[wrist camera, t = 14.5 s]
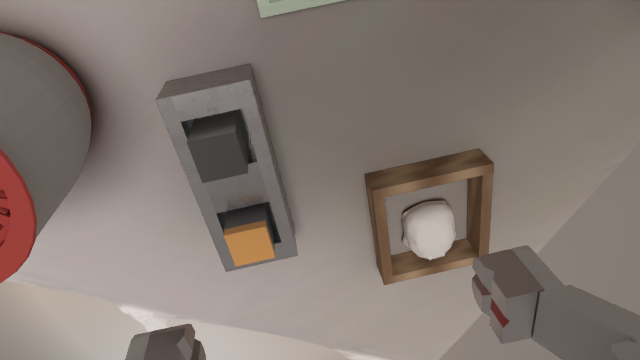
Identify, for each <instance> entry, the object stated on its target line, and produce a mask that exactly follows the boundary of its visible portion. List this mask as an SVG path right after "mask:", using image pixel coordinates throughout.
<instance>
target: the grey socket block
mask: <svg viewBox="0 0 640 360" xmlns="http://www.w3.org/2000/svg"><path fill="white" fill-rule="evenodd" d="M156 103H157V105H158V108H159V110H160V113H161V115H162V117H163V120H164V122H165V125H166V127H167V130H168V132H169V135H170V137H171V139H172V142H173V144H174V147H175V149H176V152H177V154H178V156H179V159H180V161H181V164H182V166H183V169H184V171H185V173H186V176H187V178H188V181H189V183H190V186H191V188H192V190H193V193H194V195H195V198H196V200H197V203H198V205H199V208H200V210H201V212H202V215H203V217H204V220H205V222H206V225H207V227H208V229H209V232H210V234H211V237H212V239H213V242H214V244H215V246H216V249H217V251H218V254H219V256H220V259H221V261H222V264H223V266H224V268H225V271H226V272H228V271H232V270H237V269H241V268H246V267H250V266H254V265H259V264H263V263H267V262H272V261H276V260H281V259H285V258H289V257H294V256H298V253H297V246H296V238H295V231H294V226H293V222H292V218H291V214H290V211H289V207H288V203H287V199H286V196H285V192H284V188H283V184H282V181H281V177H280V173H279V169H278V166H277V162H276V158H275V154H274V151H273V147H272V143H271V139H270V136H269V132H268V128H267V124H266V121H265V117H264V113H263V109H262V106H261V102H260V98H259V94H258V91H257V87H256V83H255V79H254V76H253V72H252V68H251V64H246V65H241V66H236V67H232V68H227V69H222V70H218V71H213V72H209V73H204V74H199V75H195V76H190V77H185V78H181V79H176V80H171V81H167V82H166V83H165V85H164V86H163V88H162V90H161V91H160V93H159V95H158V97H157V98H156ZM237 109H240V110H241V114H242V117H243V120H244V124H245V127H246V130H247V134H248V137H249V157H248V173H247V174H242V175H238V176H233V177H229V178H224V179H220V180H215V181H211V182H206V183H202V181H201V178H200V176H199V173H198V171H197V168H196V165H195V163H194V160H193V158H192V155H191V153H190V150H189V148H188V145H187V139H188V136H189V133H190V130H191V127H192V124H193V121H194V119H196V118H201V117H205V116H210V115H214V114H219V113H224V112H228V111H233V110H237ZM265 202H269V205H270V209H271V212H272V216H273V229H274V244H275V258H272V259H267V260H263V261H258V262H254V263H250V264H245V265H241V266H235V263H234V261H233V258H232V256H231V253H230V250H229V248H228V245H227V243H226V240H225V238H224V229H225V219H226V211H230V210H234V209H238V208H243V207H247V206H252V205H256V204H261V203H265Z"/></svg>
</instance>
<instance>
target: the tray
mask: <svg viewBox="0 0 640 360" xmlns="http://www.w3.org/2000/svg"><path fill="white" fill-rule="evenodd" d="M339 1H344V0H257V4H258V8H259V12H260V17H261V18H264V17H269V16H273V15H278V14H283V13H287V12H292V11H297V10H302V9H306V8H311V7H316V6H320V5H325V4H330V3H335V2H339Z"/></svg>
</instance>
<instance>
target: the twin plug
mask: <svg viewBox="0 0 640 360" xmlns="http://www.w3.org/2000/svg"><path fill="white" fill-rule="evenodd" d="M187 145H188V148H189V150H190V153H191V155H192V158H193V160H194V163H195V165H196V168H197V171H198V173H199V176H200V178H201V181H202V183H206V182H211V181H215V180H220V179H224V178H229V177H233V176H238V175H242V174H247V173H248V157H249V137H248V134H247V130H246V127H245V124H244V120H243V117H242V114H241V110H240V109H237V110H233V111H228V112H224V113H219V114H214V115H210V116H205V117H201V118H196V119H194V121H193V124H192V127H191V130H190V133H189V136H188V139H187Z"/></svg>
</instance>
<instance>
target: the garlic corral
mask: <svg viewBox="0 0 640 360" xmlns="http://www.w3.org/2000/svg"><path fill="white" fill-rule="evenodd" d="M493 172H494V163H493V162H492V161H491V160H490V159H489V158H488V157H487V156H486V155H485V154H484V153H483V152H482V151H481V150H480V149H475V150H471V151H466V152H462V153H457V154H453V155H449V156H444V157H440V158H435V159H431V160H426V161H422V162H417V163H413V164H408V165H404V166H399V167H395V168H390V169H386V170H382V171H377V172H373V173H368V174H365V180H366V187H367V194H368V202H369V209H370V216H371V224H372V231H373V239H374V246H375V253H376V261H377V267H378V269H379V272H380V275H381V277H382V280H383V283H384V285H387V284H391V283H395V282H400V281H404V280H408V279H413V278H417V277H421V276H426V275H430V274H434V273H439V272H443V271H447V270H452V269H456V268H460V267H465V266H469V265H473V260H474V258H475V257H479V256H483V255H487V254H488V253H489V237H490V220H491V204H492V188H493ZM464 179H468V202H467V238H466V239H462V240H457V241H454V242H453V243H452V246H451V248H450V249H449V250H448V251H447V252H446V253H445V256H443V257H438V258H436V259H432V260H429V259H426V258H421V257H419V256H417V255H416V254H415V253H414V252H413V251H409V252H405V253H401V254H396V255H392V256H391V254H390V245H389V236H388V227H387V218H386V208H385V199H384V197H388V196H393V195H397V194H401V193H406V192H410V191H415V190H419V189H424V188H428V187H432V186H437V185H441V184H446V183H450V182H455V181H459V180H464Z"/></svg>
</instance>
